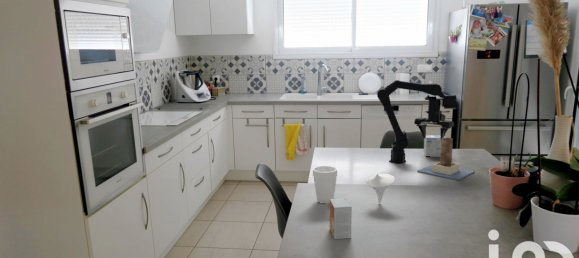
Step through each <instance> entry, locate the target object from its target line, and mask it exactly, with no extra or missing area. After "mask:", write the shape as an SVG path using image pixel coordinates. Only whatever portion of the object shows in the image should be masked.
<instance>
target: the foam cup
mask: <svg viewBox="0 0 579 258" xmlns="http://www.w3.org/2000/svg"><path fill="white" fill-rule="evenodd" d="M312 177H313V182H314V183H313V184H314V187H315V188H314V189H315V195H316V197H315V198H316V202H317V201H318V202H321V203H330V199H335V191H336V184H337V178H338V167H336V166H332V165H318V166H314V167H313V168H312ZM318 202H317V203H318Z"/></svg>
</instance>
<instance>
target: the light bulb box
mask: <svg viewBox="0 0 579 258" xmlns="http://www.w3.org/2000/svg"><path fill="white" fill-rule="evenodd" d="M444 138H447V136H446V135H445V136H444ZM423 155H424V157H426V156H430V157H429V158H440V156H441V134H440V135H437V134H436V135H434V134H433V135H431V134H430V135H426V138H424V137H423Z"/></svg>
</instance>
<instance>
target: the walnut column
mask: <svg viewBox="0 0 579 258" xmlns="http://www.w3.org/2000/svg"><path fill="white" fill-rule="evenodd" d="M453 141H454V138H452V137H446V138H441V156H440V157H439V160H440V165H441V166H446V167H451V165H452V163H453V162H452V160H453V144H454V143H453Z"/></svg>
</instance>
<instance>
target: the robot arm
mask: <svg viewBox="0 0 579 258" xmlns="http://www.w3.org/2000/svg"><path fill="white" fill-rule="evenodd" d="M398 89H402V90H408V91H415V92H422V93H424V94H427V95H426V96H425V97H424V98H423V99H424V100H425V101H428V104H427V105H428V106H427V107H428V109H427V111H426V114H427V118H426V117H418V118H415V119H414V125H416V127H418V129H419V130H420V132H421V135H422V137H423V139H424V138H426V136H427V126H428V125H434V126H435V125H437V126H441V127H440V131H439V132H440V135H441V138H444V136H445V137H446V134H447V131H448V130H449V129H452V128H453V127H455V122H454V120H447V119H446V118H447V117H446V116H447V115H446V114H443V112H442V111H443V110H441V107H442V108H443V109H444V110H456V109H457V107H458V102H457V101H458V100H457V94H451V95H450V94H449V95H448V94H447V95H445V94H444V92H443V89H442V86H441V85H440V84H438V83H435V82H432V83H418V82H412V81H411V82H410V81H404V80H403V81H402V80H399V79H395V80H394V81H392V82H391V83H389V84H388V85H387V86H385V87H382V88H379V89H377V91H376V96H377V98H378V100H379V102H380V103H381V105H382V106H383V108H384V110H385V112H386V115H387V119H389V122H390V125H391V127H392V130H393V133H394V139H395V140H394V142H393V143H391V149H390V160H388V162H389V163H395V164H403V163H406V162H407V160H406V151H405V148H407V147H408V145H409V141H410V139H409V137H408V135H407V132H406V130H402V129H401V127H400V124H399V121H398V119H397V117H396V114H395V111H394V108H393V107H392V103H391V98H390V96H391V94H393V93H394V92H395V91H397V90H398ZM437 96H438V98H437Z"/></svg>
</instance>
